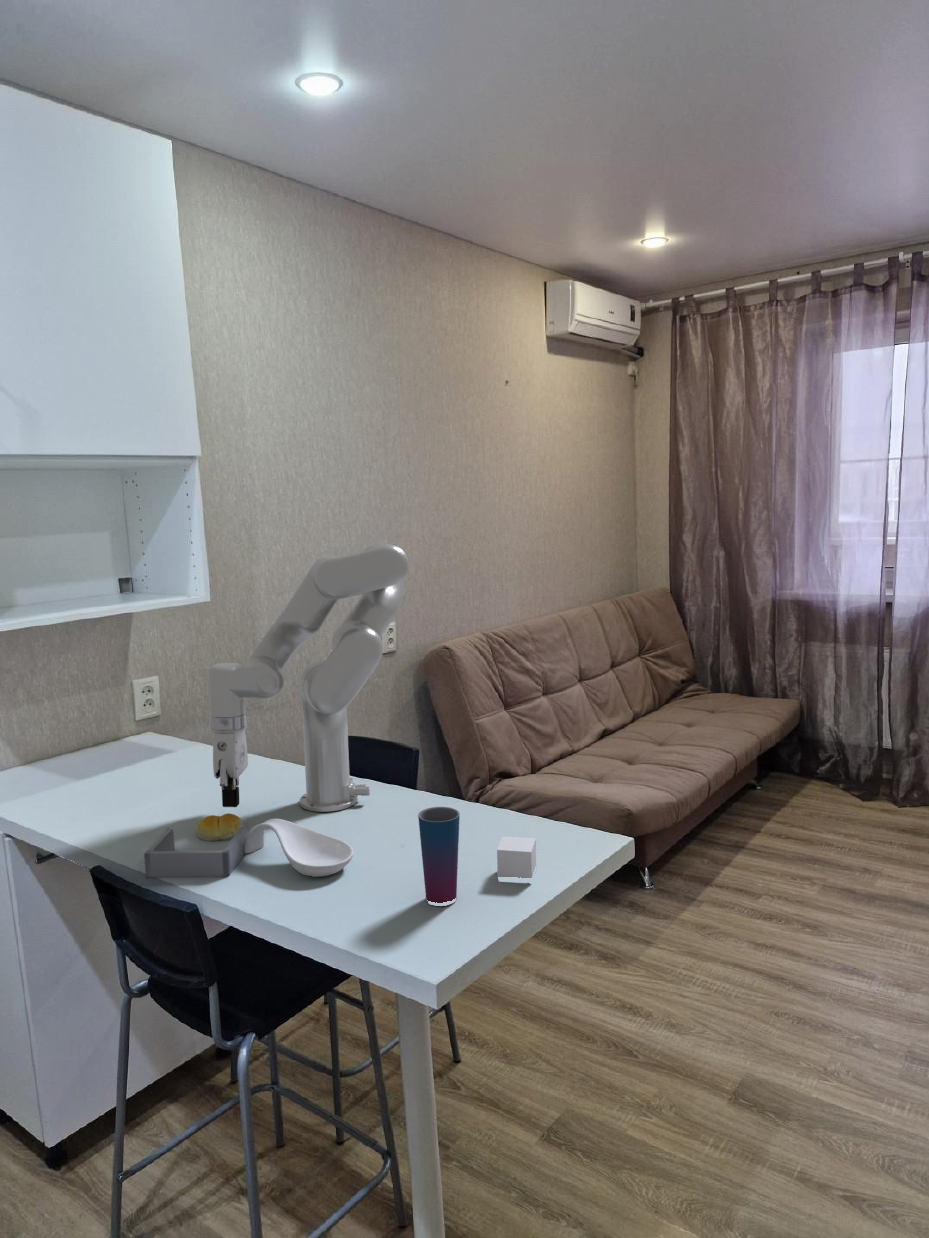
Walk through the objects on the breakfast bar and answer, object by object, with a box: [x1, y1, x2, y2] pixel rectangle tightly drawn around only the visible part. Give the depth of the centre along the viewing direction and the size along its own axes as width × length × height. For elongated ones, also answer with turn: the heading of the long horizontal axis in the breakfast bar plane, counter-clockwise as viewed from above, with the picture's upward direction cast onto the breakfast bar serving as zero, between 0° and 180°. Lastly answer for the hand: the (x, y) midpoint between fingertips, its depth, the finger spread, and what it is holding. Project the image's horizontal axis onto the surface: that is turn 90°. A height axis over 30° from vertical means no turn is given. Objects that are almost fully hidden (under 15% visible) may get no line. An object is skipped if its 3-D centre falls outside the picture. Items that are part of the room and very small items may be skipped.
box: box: [143, 826, 247, 878], centre depth 163 cm, size 15×12×4 cm
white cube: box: [496, 836, 537, 878], centre depth 154 cm, size 6×6×6 cm
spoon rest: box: [244, 818, 355, 878], centre depth 162 cm, size 24×12×7 cm, turn 57°
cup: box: [417, 806, 460, 903], centre depth 145 cm, size 7×7×15 cm
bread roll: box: [195, 812, 244, 842], centre depth 177 cm, size 8×9×4 cm
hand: (231, 805), depth 187 cm, fingers closed
